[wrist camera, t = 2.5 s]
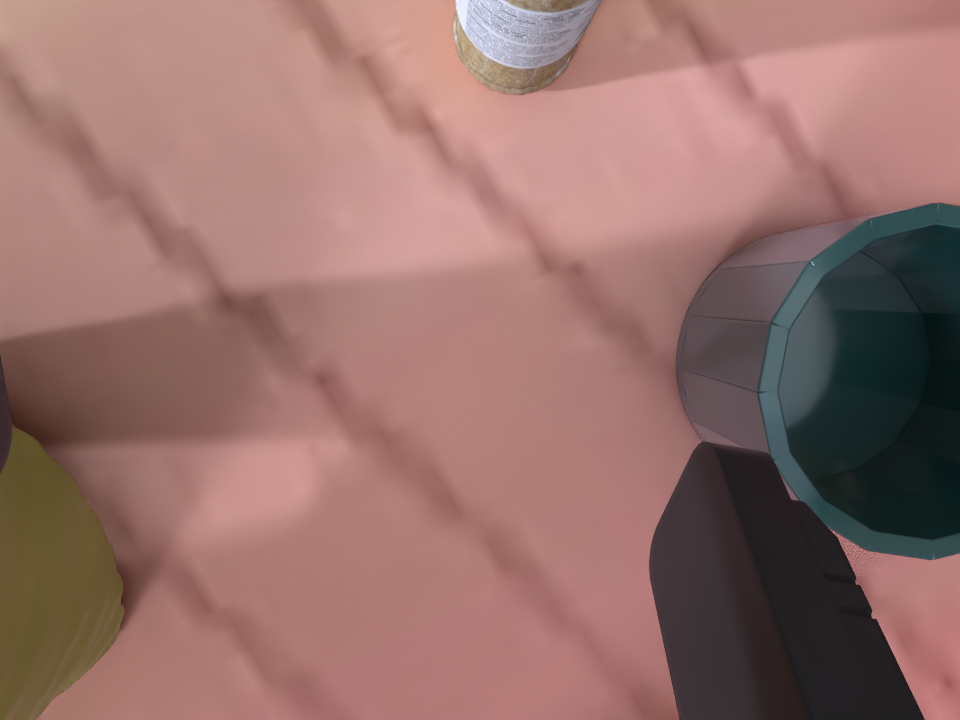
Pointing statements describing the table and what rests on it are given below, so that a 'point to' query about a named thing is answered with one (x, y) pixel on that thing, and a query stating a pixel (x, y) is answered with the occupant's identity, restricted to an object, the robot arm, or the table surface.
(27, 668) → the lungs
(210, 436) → the table surface
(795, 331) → the cup
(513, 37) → the sprinkles bottle
